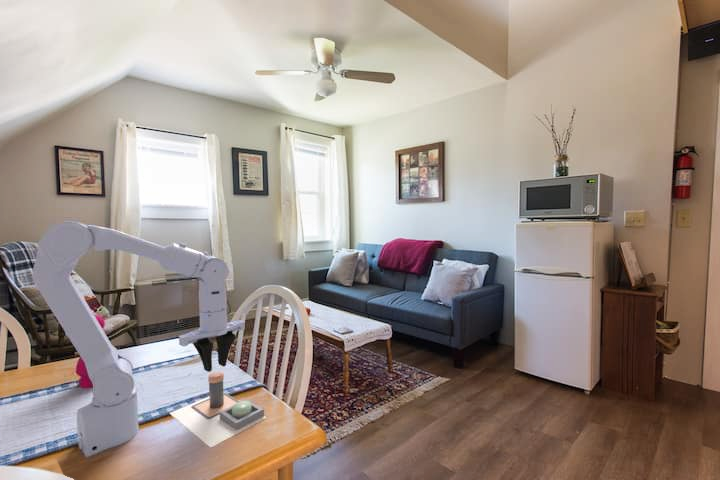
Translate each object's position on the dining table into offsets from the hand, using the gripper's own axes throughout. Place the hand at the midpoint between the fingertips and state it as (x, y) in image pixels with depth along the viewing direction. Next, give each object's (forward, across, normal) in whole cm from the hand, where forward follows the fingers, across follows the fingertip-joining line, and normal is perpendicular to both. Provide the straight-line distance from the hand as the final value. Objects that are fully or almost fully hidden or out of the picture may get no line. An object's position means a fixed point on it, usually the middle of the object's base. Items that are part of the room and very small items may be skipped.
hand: (215, 367), depth 78 cm
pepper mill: (+10, -14, +39) cm, 43 cm away
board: (+10, -2, -4) cm, 11 cm away
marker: (+9, 0, 0) cm, 9 cm away
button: (+8, +1, -9) cm, 12 cm away
